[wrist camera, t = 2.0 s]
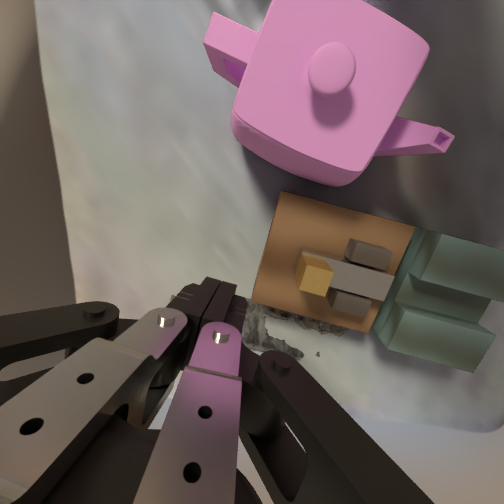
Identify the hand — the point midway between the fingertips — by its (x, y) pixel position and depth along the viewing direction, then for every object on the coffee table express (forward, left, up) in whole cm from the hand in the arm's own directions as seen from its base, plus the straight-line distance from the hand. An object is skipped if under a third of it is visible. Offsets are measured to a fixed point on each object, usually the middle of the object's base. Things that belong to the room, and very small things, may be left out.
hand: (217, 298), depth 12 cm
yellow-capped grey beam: (0, +9, -11) cm, 14 cm away
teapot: (-13, +3, -16) cm, 20 cm away
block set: (0, +13, -16) cm, 20 cm away
